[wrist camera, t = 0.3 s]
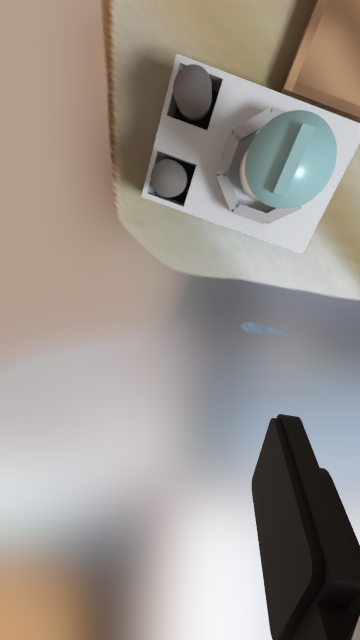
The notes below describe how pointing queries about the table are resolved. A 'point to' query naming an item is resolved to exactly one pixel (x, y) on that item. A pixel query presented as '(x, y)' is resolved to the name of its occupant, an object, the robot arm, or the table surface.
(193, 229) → the table surface
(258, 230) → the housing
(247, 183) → the cylinder
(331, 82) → the tray
